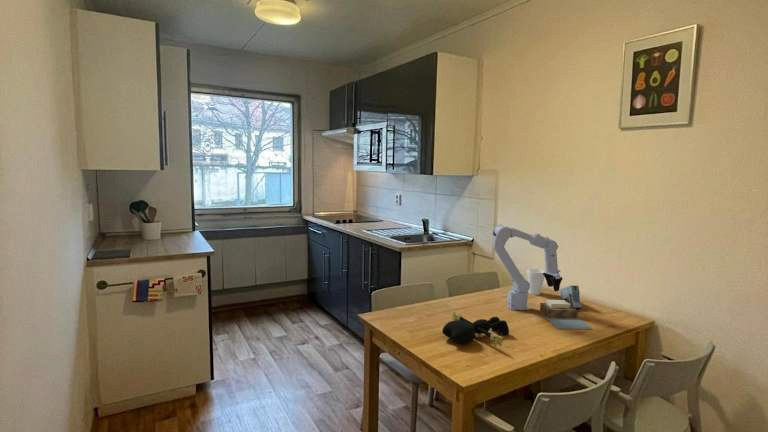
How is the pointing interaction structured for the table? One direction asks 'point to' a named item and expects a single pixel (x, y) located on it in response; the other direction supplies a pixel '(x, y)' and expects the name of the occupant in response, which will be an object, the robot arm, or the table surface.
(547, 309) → the brown flat block
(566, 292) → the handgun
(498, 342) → the toy
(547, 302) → the cream flat block
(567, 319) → the mat
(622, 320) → the table surface
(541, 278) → the foam cup
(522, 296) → the robot arm
